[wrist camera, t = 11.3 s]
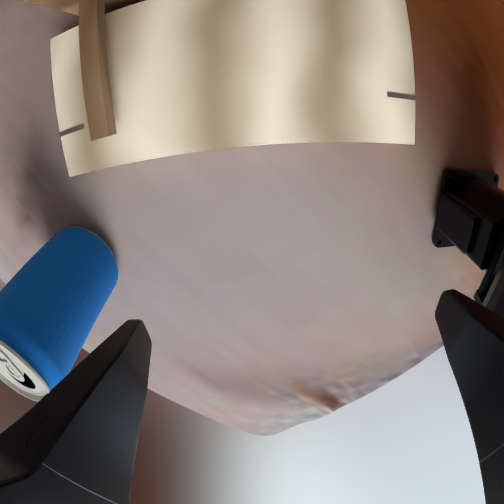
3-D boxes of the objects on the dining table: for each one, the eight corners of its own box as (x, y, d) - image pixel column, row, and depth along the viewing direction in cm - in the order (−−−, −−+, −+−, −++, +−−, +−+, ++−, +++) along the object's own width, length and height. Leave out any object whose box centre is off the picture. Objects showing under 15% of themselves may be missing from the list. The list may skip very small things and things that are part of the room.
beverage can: (77, 294, 23) (17, 399, 12) (45, 232, 19) (-44, 328, 9) (134, 284, 22) (77, 412, 11) (101, 212, 19) (0, 326, 8)
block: (139, -34, 10) (94, -76, 4) (152, 123, 16) (100, 142, 10) (86, -14, 10) (28, -40, 4) (98, 137, 16) (33, 163, 10)
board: (393, 3, 11) (405, -3, 10) (402, 140, 16) (415, 144, 15) (63, 41, 12) (49, 39, 11) (81, 170, 17) (69, 177, 16)
